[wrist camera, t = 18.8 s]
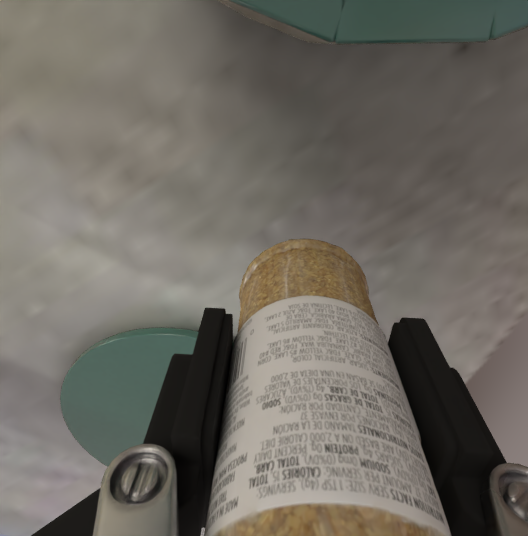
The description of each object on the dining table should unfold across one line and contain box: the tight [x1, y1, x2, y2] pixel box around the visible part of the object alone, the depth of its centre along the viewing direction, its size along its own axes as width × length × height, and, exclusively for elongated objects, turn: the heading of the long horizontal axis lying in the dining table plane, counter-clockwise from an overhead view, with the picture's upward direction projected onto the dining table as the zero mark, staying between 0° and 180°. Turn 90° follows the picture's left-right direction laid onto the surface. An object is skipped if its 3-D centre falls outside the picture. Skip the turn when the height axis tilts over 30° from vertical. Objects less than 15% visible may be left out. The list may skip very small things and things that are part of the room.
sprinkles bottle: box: [204, 239, 451, 536], centre depth 8 cm, size 5×5×14 cm
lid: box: [60, 328, 198, 467], centre depth 23 cm, size 16×16×6 cm
